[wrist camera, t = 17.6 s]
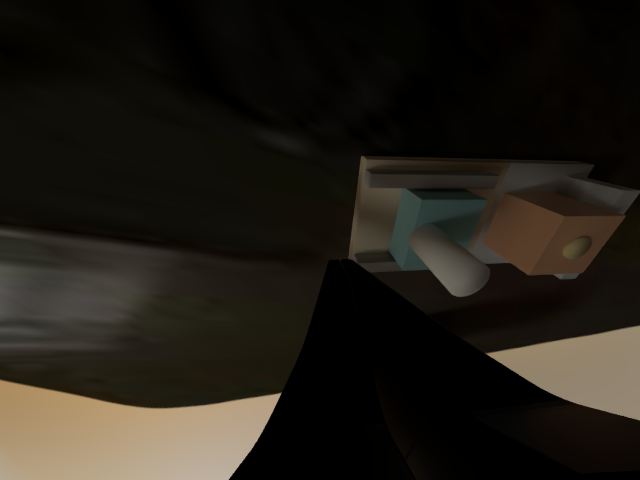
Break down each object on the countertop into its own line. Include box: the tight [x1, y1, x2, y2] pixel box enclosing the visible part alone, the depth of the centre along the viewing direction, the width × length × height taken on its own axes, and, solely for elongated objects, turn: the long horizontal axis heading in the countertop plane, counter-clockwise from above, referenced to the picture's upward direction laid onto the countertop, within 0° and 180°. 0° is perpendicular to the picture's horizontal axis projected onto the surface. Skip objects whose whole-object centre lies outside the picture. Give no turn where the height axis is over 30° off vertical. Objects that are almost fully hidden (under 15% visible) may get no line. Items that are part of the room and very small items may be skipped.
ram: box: [389, 188, 490, 297], centre depth 17 cm, size 6×5×8 cm
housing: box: [482, 193, 626, 275], centre depth 19 cm, size 5×5×5 cm
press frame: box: [349, 156, 640, 279], centre depth 20 cm, size 10×20×6 cm, turn 88°
